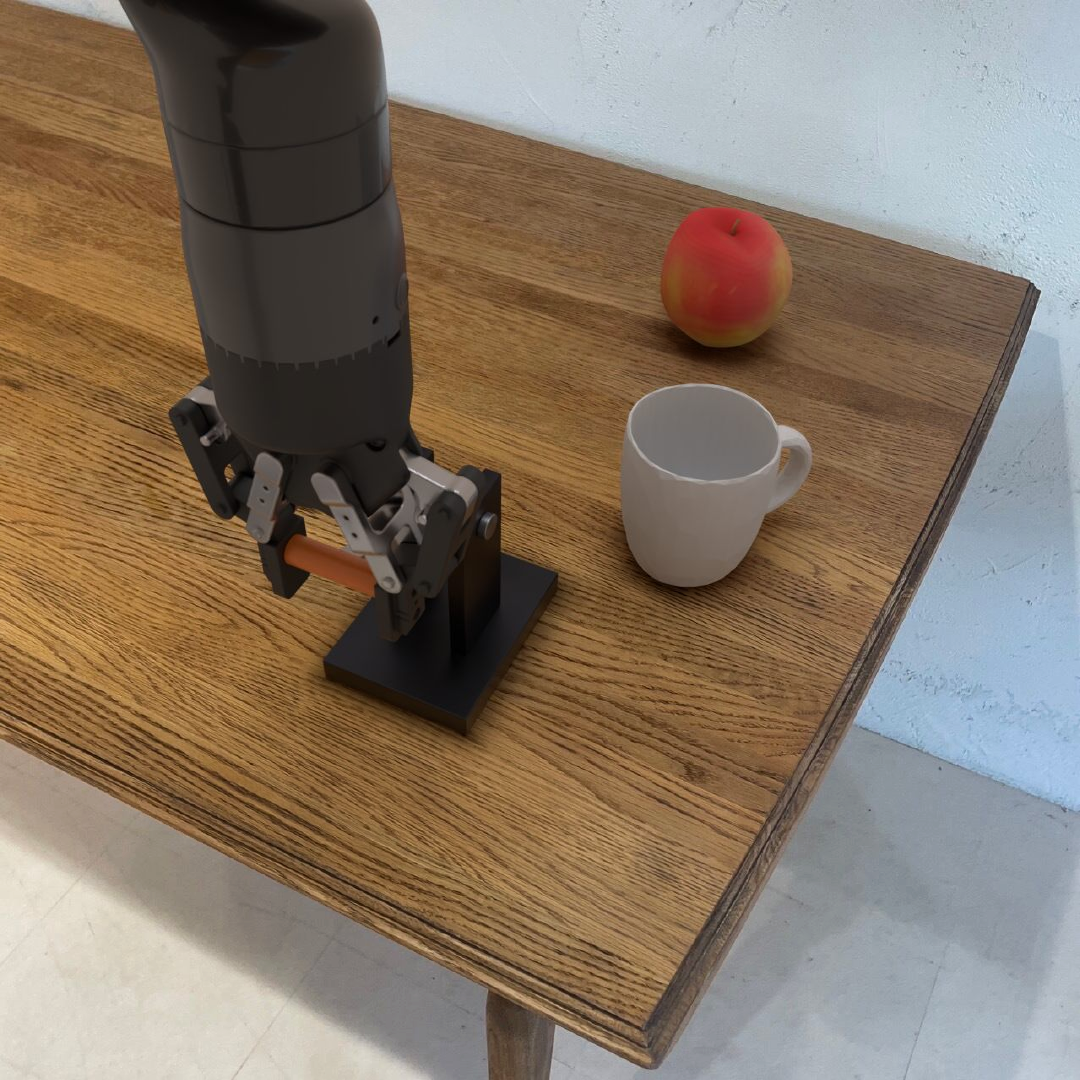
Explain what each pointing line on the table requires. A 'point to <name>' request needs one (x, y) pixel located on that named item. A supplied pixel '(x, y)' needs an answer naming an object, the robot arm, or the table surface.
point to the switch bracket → (451, 630)
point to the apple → (725, 276)
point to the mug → (703, 479)
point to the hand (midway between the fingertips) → (345, 604)
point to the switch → (336, 560)
